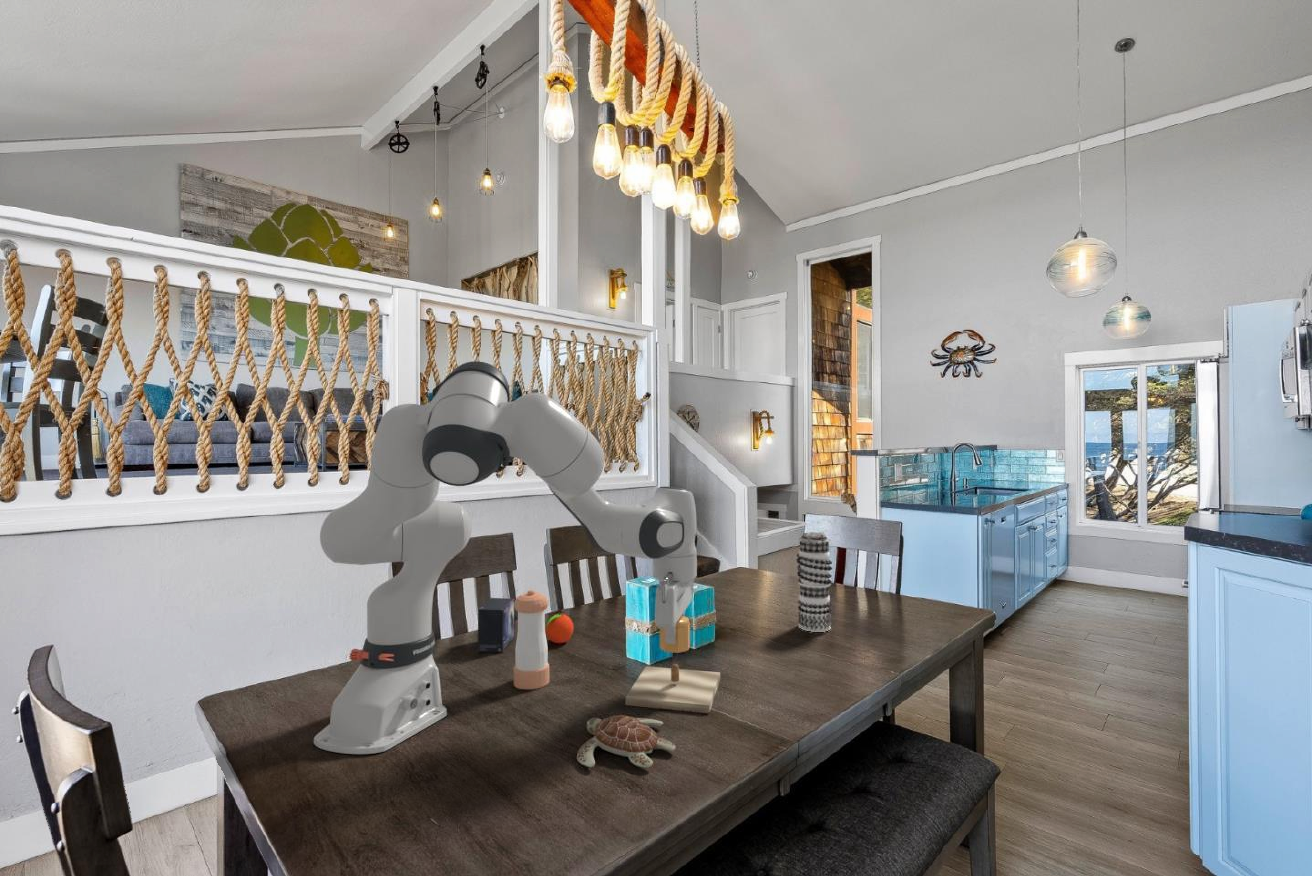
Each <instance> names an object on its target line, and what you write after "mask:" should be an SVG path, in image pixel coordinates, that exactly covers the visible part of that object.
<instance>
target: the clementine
mask: <svg viewBox="0 0 1312 876" xmlns="http://www.w3.org/2000/svg"><path fill="white" fill-rule="evenodd" d="M574 626H575V625H574V623H573V621H572V618H570V617H569V616H567V615H566V614H563V613H556V614H554V615H553V616H551V617H550V618H549V619H548V620H547V622H546V623H545V634H546V636H547V637H546V638H548V639H549V640H550V641H551V642H552V643H555V644H564V643H566V642H567V641H568V640H570V639H571V637H572V636H573V633H574V629H575V628H574Z"/></svg>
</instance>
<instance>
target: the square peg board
mask: <svg viewBox="0 0 1312 876" xmlns="http://www.w3.org/2000/svg"><path fill="white" fill-rule="evenodd" d="M720 682H721V672H720V671H719V672H717V671H706V670H697V669H695V670H694V669H685V668H684V669H682V668H680V666H679V665H678V664H677V663H673V664H672V665H671V667H669V668H668V667H661V666H659V667H658V666H646V665H645V667H644V668H643V670H642V671H641V673H640V675H639V676H638V678H637V679H636V681H635V682H634V683H633V685H632V686H631V689H630V690H629V691H628V693H627V694H626V695H625V701H624V702H625V706H631V707H643V708H652V709H660V708H661V709H663V710H670V709H671V711H682V710H683V712H690V711H691V713H703V714H710V713H709V712H711V709H712V706H713V703H714V699H715V697H716V693H717V691H718V688H719V685H720Z"/></svg>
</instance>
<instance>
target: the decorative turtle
mask: <svg viewBox="0 0 1312 876" xmlns="http://www.w3.org/2000/svg"><path fill="white" fill-rule="evenodd" d="M663 724H664V722H663V721H661V720H657V719H651V718H645V717H633V716H629V715H625V714H617V715H616V714H615V715H611V716H609V717H605V718H603V719H601V718H598V717H592V718H590V719H589V720H587V721H586V729H587V732H589V733H590V734H591V735H593V737H591V738H590V739H588V740H587V741H586V742H584V743H583V744H582V745H581V746H580V747H579V749H578V751H577V755H576V760H577V762H578V763H580V764H581V765H583V766H585V767H588V768H593V767H595V765H596V761H595V757H594V752H595V749H596V747H599V748H600V749H602V750H604V751H607V752H609V753H612V754H614V755H618V756H621V757H627V758H628V760H629V762H630V763H632V764H633V765H634V766H637V767H640V768H651V767H652V766H653V765H654V761H653V760H652V759H651V758H650V757H649V756H648V755H647V754H651V753H653V751H654V749H655V748H656V747H659V748H661V749H664V750H667V751H671V752H674V751H675V750H676V745H675V744H674V743H672V742H671V741H669V740H667V739H665V738H663V737H660V736H659V735H658V734H657V732H656V731H655V730H654V729H652V728H651V727H650V726H655V727H660V726H661V727H662V725H663Z"/></svg>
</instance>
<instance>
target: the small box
mask: <svg viewBox="0 0 1312 876" xmlns="http://www.w3.org/2000/svg"><path fill="white" fill-rule="evenodd" d="M514 602H515V598H505V597H502V598H501V597H490V598H489V599H488V600H487V601H486V602H484V604H482V605H481V606H480V607H479V608H478V610H477V612H478V613H477V653H491V654H492V653H494V654H495V653H500V654H501V653H503V652H504V651H505V650H506V649H507V648H508V647H509V645H510V644H511V643H512V641H513V640H514V635H515V632H514V631H515V629H514V628H515V607H514Z"/></svg>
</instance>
